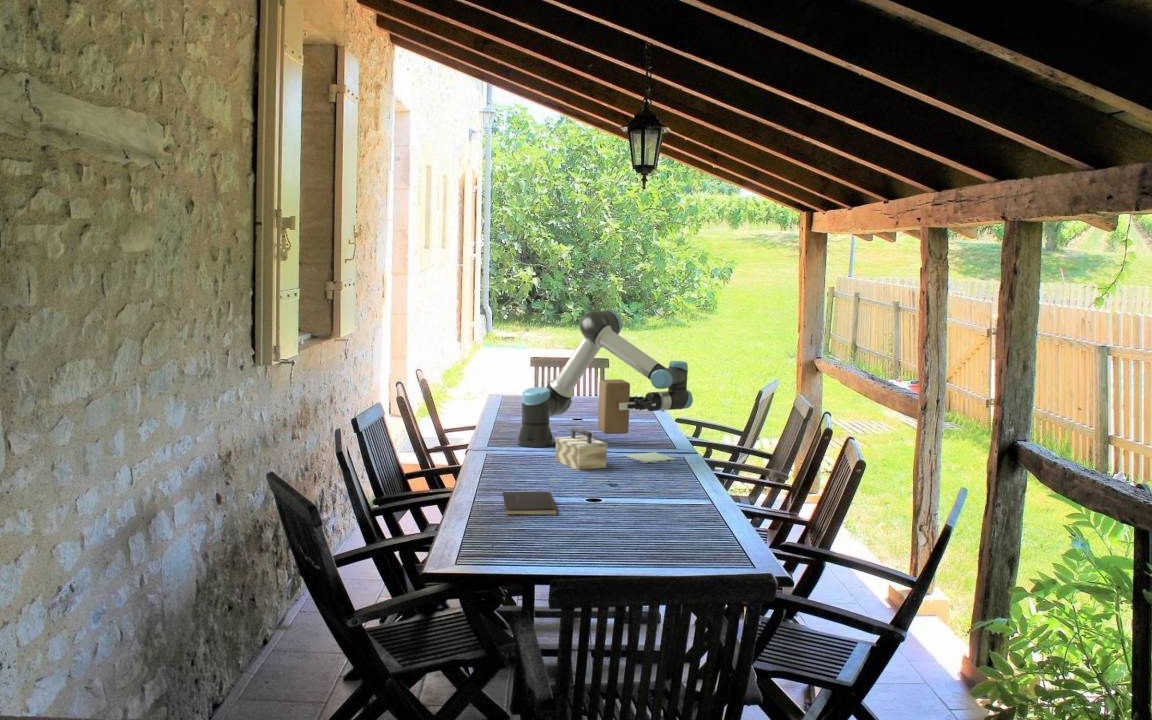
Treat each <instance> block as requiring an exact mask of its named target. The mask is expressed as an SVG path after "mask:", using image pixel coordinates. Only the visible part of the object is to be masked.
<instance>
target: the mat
mask: <svg viewBox="0 0 1152 720" xmlns="http://www.w3.org/2000/svg"><path fill="white" fill-rule="evenodd" d="M626 456H627V457H626ZM625 457H626V458H629V457H630V458H629V459H632V458H633V459H632V460H635V459H636V460H635V461H638V460H639V461H638V462H641V461H642V462H641V463H644V462H645V464H649V463H648V462H652V463H660V462H659V461H661V462H668V461H667V460H671V461H676V458H675V457H671V456H667V455H665V454H661V453H660V452H656V451H654V452H653V451H652V452H644V453H643V452H642V453H634V454H625Z"/></svg>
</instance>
